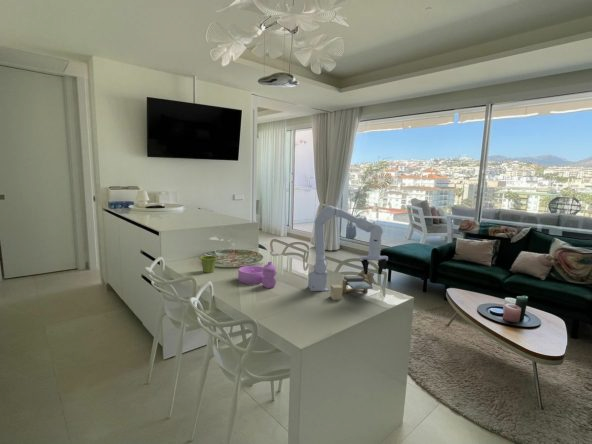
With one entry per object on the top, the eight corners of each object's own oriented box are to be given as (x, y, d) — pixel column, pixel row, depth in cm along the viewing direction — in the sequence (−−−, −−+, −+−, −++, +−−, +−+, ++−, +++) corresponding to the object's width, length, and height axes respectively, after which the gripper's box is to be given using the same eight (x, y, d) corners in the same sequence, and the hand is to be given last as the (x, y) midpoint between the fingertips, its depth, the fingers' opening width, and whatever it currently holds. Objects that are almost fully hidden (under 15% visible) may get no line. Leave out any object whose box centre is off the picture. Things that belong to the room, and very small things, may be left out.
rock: (361, 287, 172) (365, 269, 174) (353, 285, 177) (356, 267, 179) (376, 291, 179) (379, 273, 180) (367, 289, 184) (370, 272, 186)
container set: (232, 280, 179) (233, 256, 177) (253, 275, 190) (254, 253, 189) (263, 291, 163) (263, 266, 161) (284, 285, 174) (285, 261, 172)
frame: (343, 293, 165) (344, 280, 164) (340, 290, 170) (341, 277, 169) (367, 292, 167) (368, 280, 167) (363, 289, 172) (364, 277, 172)
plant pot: (199, 270, 195) (199, 256, 194) (214, 269, 199) (215, 255, 198) (201, 274, 187) (201, 259, 185) (217, 273, 191) (218, 258, 189)
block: (332, 299, 155) (333, 287, 155) (330, 296, 160) (330, 284, 159) (341, 299, 156) (342, 287, 155) (338, 296, 161) (339, 284, 160)
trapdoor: (353, 292, 156) (353, 284, 156) (342, 282, 170) (343, 276, 170) (372, 291, 158) (372, 284, 158) (360, 282, 172) (361, 275, 172)
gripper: (364, 249, 158) (362, 276, 160) (391, 249, 161) (389, 276, 163) (358, 246, 165) (357, 272, 167) (385, 246, 168) (383, 272, 170)
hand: (372, 274), depth 165 cm, fingers open, 7 cm apart
